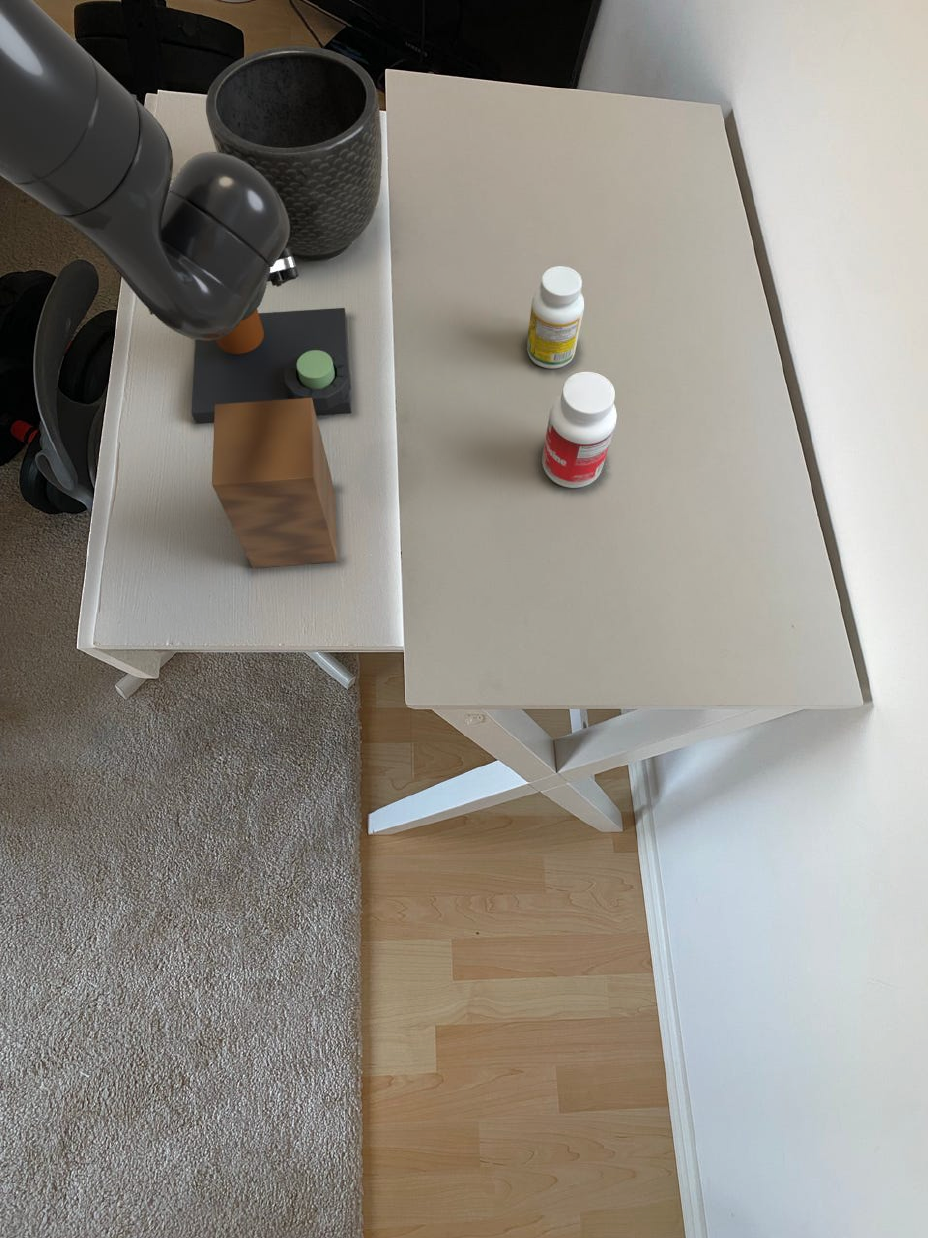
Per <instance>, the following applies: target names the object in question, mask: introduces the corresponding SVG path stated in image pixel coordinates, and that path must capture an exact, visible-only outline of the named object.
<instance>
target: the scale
mask: <svg viewBox="0 0 928 1238" xmlns="http://www.w3.org/2000/svg"><path fill="white" fill-rule="evenodd" d="M258 314H259V317H260V320H261V324H262V327H263V330H264V337H263V340H262V342H261V343H260V345H259V346H258V347H257V348H255V349H254V350H252V351H250V352H247V353H243V354H232V353H228V352H226V351H224V350H222V349H221V348H220V347H219V346H218V344H217V342H216V340H208V341H201V340H195V339H194V356H193V375H192V376H193V377H192V393H191V395H192V397H191V415H192V417H193V420H194V422H195V424H198V425H199V424H214V415H215V404H228V403H243V402H257V401H271V400H286V399H300V398H312V401H313V405H314V409H315V413H316V416H324V415H325V416H326V415H338V414H351V413H352V403H351V401H352V400H351V399H352V398H351V390H352V382H351V373H350V361H349V359H350V358H349V341H348V323H347V322H348V319H347V313H346V308H345V307H334V308H320V309H306V310H305V309H303V310H288V311H287V310H286V311H274V312H258ZM312 350H319V351H323V352H325V353H327V354H328V355H329V356H330V357H331V359H332V362H333V367H334V372H335V377H334V380H333V382H332V383H331V384H330V385H329V386H327V387H325V388H323V389H310V388H307V387H305V386H304V385H303V384H302V383H301V381H300V378H299V374H298V371H297V361H298V359H299V357H300V356H301V355H302V354H304V353H306V352H308V351H312Z"/></svg>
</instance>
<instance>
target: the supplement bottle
mask: <svg viewBox="0 0 928 1238" xmlns="http://www.w3.org/2000/svg"><path fill="white" fill-rule="evenodd" d="M582 286H583V280H582V277H581V275H580V274H579V272H578V271H576V270H575V269H574V268H572V267H569V266H564V265H558V266H551V267H550V268H548V269H547V270H546V271H544V272H543V274H542V277H541V280H540V286H539V288H538V289H536V290H535V292H534V294H533V296H532V300H531V307H530V315H529V316H530V317H529V324H528V333H527V339H526V340H527V341H526V350H527V354H528V356H529V358H530V359H531V361H532V362H533V363H534V364H535V365H537V366H539V367H542V368H545V369H559V368H562V367H565V366H567V365H568V364H570V363H571V362H572V360H573V359H574V357H575V354H576V350H577V345H578V342H579V341H578V340H579V336H580V332H581V331H580V330H581V324H582V320H583V315H584V310H585V299H584V295H583V294H582Z"/></svg>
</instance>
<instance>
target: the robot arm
mask: <svg viewBox="0 0 928 1238" xmlns="http://www.w3.org/2000/svg"><path fill="white" fill-rule="evenodd" d="M173 169H174V155H173V148H172V144H171V142H170V139H169V136H168V134H167V132H166V131H165V129H164V128H163V126H162V125H161V123H160V122H159V121H158V120H157V118H156V117H154V115H153V114H152V113H151V111H149V110H148V109H147V108H146V107H145V106H144V105H143V104H142V103H141V102H140V101H139V100H138V99H137V97H135V96H134V95H133V94H132V93H131V92H129V90H128V89H126V88H125V86H123V85H122V84H121V82H119V81H118V80H117V79H116V78H115V77H114V76H112V74H111V73H110V72H108V71H107V70H106V69H105V68H104V66H102V65H101V64H100V63H99V62H98V61H97V60H96V59H95V58H94V57H93V56H92V55H91V54H90V53H89V52H88V51H86V50H85V48H83V47H82V45H80V44H79V43H78V42H77V41H76V40H75V39H74V38H73V37H72V36H71V35H69V33H68V32H66V31H65V30H64V29H63V28H62V27H61V26H60V25H59V24H58V23H57V22H56V21H55V20H54V19H52V17H51V16H50V15H48V13H47V12H45V10H43V9H42V7H40V6H39V5H38V4H37V3H36V2H35V1H34V0H0V176H1V177H2V178H3V179H5V180H6V181H8V182H9V183H11V184H12V185H14V186H15V187H17V188H18V189H20V190H21V191H22V192H24V193H25V194H27V195H28V196H30V197H31V198H32V199H34V200H35V201H37V202H38V203H39V204H41V205H43V206H44V207H46V208H47V209H49V210H50V211H52V212H53V213H54V214H56V215H57V216H58V217H60V218H61V219H62V220H64V221H65V222H67V223H68V224H69V225H70V226H71V227H73V228H74V229H76V230H77V231H78V232H79V233H80V234H81V235H83V236H84V237H85V238H86V239H87V240H88V241H90V243H92V245H94V247H95V248H96V249H97V250H98V251H99V252H100V253H101V254H102V255H103V256H104V257H105V258H106V260H107V261H108V262H109V263H110V264H111V265H112V266H113V268H114V269H115V270H116V271H117V272H118V274H119V275H120V277H121V278H122V279H123V281H124V282H125V283H126V284H127V286H128V287H129V288H130V289H131V290H132V292H133V293H134V294H135V295H136V297H137V298H138V300H140V302H142V304H143V305H144V306H145V307H146V308H147V309H148V311H149V314H150V315H154V317H156V318H157V319H158V320H159V321H160V322H161V323H163V324H164V325H165V326H167V327H168V328H169V329H171V330H172V331H174V332H175V333H177V334H179V335H181V336H182V337H186V338H189V339H191V340H194V341H195V340H201V341H208V340H216V339H220V338H223V337H225V336H227V335H229V334H230V333H231V332H232V331H233V330H234V329H235V328H236V327H237V325H238V324H239V322H241V321H243V320H245V319H246V318H248V317H249V316H251V315H252V314H253V313H254V312H255V311H256V309H257V310H258V309H259V307H260V306H261V303H262V301H263V299H264V295H265V293H266V289H267V284H268V283H269V282H271V284H272V287H274V286H276V287H281V286H282V285H283V284H286V283H288V282H289V281H292V280H296V278H297V277H299V276H300V275H299V271H298V268H297V265H296V262H295V259H294V256H293V255H292V252H291V248H290V247H288V248H286V247H285V246H286V244H287V242H288V239H289V236H290V221H289V217H288V213H287V210H286V208H285V206H284V203H283V201H282V199H281V198H280V196H279V194H278V193H277V191H276V190H275V188H274V187H273V186H272V184H271V183H270V182H269V181H268V180H267V179H266V178H265V177H264V176H263V175H262V174H261V173H260V172H259V171H258V170H256V169H255V168H254V167H252V166H251V165H249V164H248V163H246V162H244V161H243V160H241V159H239V158H236V157H234V156H231V155H228V154H224V153H218V152H217V151H215V152H214V151H211V152H210V151H209V152H202V153H199V154H197V155H194V156H193V157H191V158H190V159H188V160H187V161H186V162H185V163H184V164H183V165H182V166H181V167H180V169H179V170H178V172H177V174H176V176H175V177H174V178H173V181H172V177H173V172H174V171H173Z"/></svg>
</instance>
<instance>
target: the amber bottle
mask: <svg viewBox="0 0 928 1238" xmlns="http://www.w3.org/2000/svg"><path fill="white" fill-rule="evenodd" d="M258 313H259V310H258V308H257V309H256V311H255V312H254V313H253V314H252V315H251V316H249V317H248V318H246V319H245V320H243V321H241V322H239V324H238V325H237V327H236V328H235V329H234V330H233V331H232V332H231V333H230V334H229V335H227V336H225V337H223V338H220V339H216V342H217V344H218V346H219V347H220V348H221V349H222V350H224V351H226V352H228V353H232V354H243V353H247V352H250V351H252V350H254V349H255V348H257V347H258V346H259V345H260V343H261V342H262V340H263V337H264V330H263V327H262V324H261V320H260V317H259V314H258Z"/></svg>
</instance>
